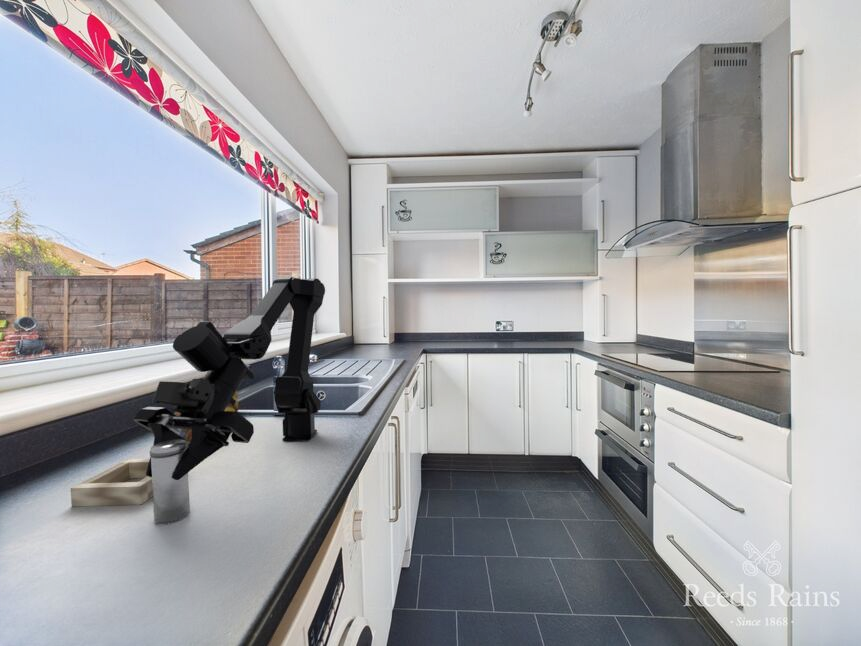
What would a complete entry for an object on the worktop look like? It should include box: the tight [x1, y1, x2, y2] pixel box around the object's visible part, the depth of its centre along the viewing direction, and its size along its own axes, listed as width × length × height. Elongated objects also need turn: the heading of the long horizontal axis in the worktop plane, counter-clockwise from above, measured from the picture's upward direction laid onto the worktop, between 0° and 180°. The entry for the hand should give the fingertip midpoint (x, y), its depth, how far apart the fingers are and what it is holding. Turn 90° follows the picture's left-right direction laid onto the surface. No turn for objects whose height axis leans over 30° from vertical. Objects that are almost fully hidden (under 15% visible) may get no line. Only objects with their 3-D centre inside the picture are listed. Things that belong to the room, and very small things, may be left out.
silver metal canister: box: [149, 440, 191, 525], centre depth 54 cm, size 5×5×11 cm
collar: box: [70, 458, 153, 507], centre depth 63 cm, size 11×11×3 cm
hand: (161, 477), depth 53 cm, fingers closed on silver metal canister, 4 cm apart
